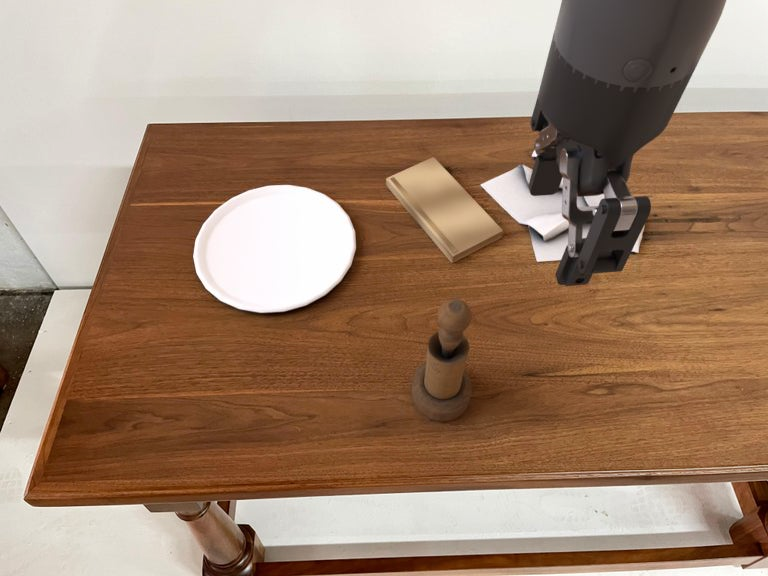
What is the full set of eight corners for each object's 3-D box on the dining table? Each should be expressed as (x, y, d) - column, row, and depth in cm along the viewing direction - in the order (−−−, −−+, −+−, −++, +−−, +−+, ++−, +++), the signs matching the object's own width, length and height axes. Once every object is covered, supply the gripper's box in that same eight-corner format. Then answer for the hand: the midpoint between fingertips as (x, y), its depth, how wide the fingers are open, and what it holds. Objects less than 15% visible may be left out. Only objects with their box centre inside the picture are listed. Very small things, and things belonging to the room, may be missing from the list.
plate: (197, 330, 71) (194, 325, 70) (193, 201, 83) (191, 195, 82) (369, 301, 73) (369, 295, 72) (343, 180, 85) (342, 173, 84)
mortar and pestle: (398, 391, 67) (402, 304, 52) (440, 356, 69) (455, 264, 54) (440, 434, 64) (457, 355, 49) (482, 396, 66) (510, 310, 52)
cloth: (659, 264, 77) (666, 252, 75) (487, 261, 77) (490, 249, 75) (626, 152, 88) (632, 139, 86) (476, 150, 88) (479, 137, 86)
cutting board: (501, 237, 79) (503, 230, 78) (451, 263, 77) (453, 256, 75) (433, 164, 87) (433, 156, 85) (385, 185, 84) (385, 177, 83)
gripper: (755, 124, 28) (634, 310, 41) (651, -38, 36) (578, 163, 49) (596, 134, 27) (526, 318, 41) (527, -31, 35) (488, 169, 49)
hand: (555, 233), depth 45 cm, fingers open, 8 cm apart
